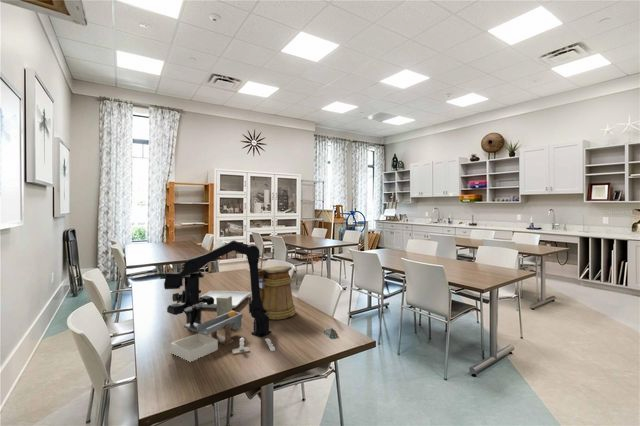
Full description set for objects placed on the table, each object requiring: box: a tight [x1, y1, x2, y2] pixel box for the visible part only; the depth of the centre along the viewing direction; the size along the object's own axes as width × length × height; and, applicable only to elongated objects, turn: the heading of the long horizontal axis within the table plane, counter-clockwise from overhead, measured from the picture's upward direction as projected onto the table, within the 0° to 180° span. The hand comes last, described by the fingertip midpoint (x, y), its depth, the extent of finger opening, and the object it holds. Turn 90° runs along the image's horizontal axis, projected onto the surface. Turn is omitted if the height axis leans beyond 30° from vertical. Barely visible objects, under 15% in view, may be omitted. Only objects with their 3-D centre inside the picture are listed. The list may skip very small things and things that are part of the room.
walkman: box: [259, 278, 264, 288], centre depth 198 cm, size 8×3×12 cm, turn 113°
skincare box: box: [216, 296, 233, 317], centre depth 154 cm, size 6×4×12 cm
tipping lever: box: [183, 311, 243, 336], centre depth 136 cm, size 18×16×6 cm
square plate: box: [199, 290, 252, 309], centre depth 184 cm, size 27×27×4 cm
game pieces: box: [231, 327, 339, 356], centre depth 133 cm, size 45×13×6 cm, turn 112°
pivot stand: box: [208, 324, 234, 346], centre depth 133 cm, size 4×11×8 cm, turn 56°
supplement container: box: [185, 304, 203, 325], centre depth 148 cm, size 7×7×10 cm
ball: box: [228, 310, 237, 318], centre depth 138 cm, size 4×4×4 cm
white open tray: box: [170, 332, 219, 363], centre depth 123 cm, size 12×12×4 cm
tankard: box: [258, 265, 297, 321], centre depth 164 cm, size 18×24×25 cm
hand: (191, 324), depth 133 cm, fingers closed, pressing on tipping lever
